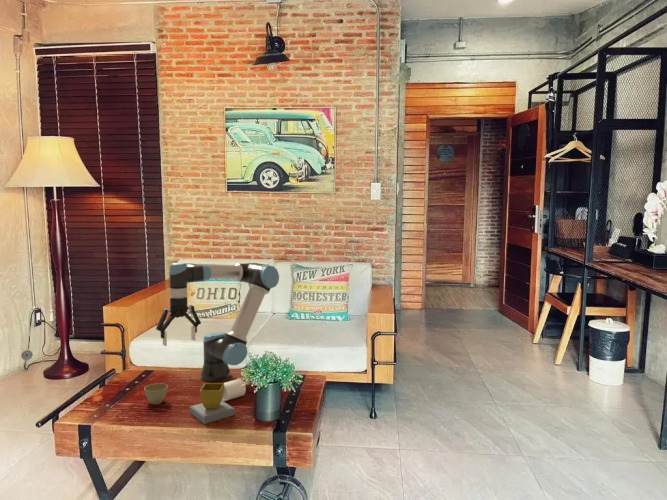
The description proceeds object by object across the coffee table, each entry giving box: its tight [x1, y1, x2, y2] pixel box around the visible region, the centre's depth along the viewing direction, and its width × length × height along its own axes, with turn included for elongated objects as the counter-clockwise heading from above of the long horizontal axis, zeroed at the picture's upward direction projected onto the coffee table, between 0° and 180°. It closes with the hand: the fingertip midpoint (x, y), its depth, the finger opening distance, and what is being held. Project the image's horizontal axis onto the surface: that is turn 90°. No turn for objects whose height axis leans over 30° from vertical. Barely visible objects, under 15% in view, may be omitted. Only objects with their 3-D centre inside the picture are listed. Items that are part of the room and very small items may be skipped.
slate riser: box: [189, 400, 236, 425], centre depth 207 cm, size 14×14×3 cm
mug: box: [222, 378, 246, 402], centre depth 225 cm, size 12×10×8 cm
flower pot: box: [199, 382, 225, 409], centre depth 206 cm, size 9×9×9 cm
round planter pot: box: [143, 382, 169, 405], centre depth 217 cm, size 10×10×7 cm
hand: (179, 342), depth 220 cm, fingers open, 13 cm apart
